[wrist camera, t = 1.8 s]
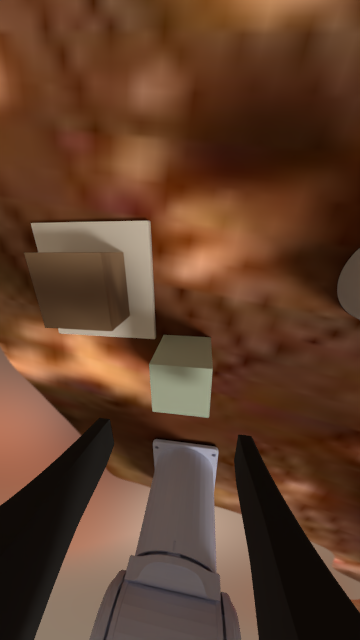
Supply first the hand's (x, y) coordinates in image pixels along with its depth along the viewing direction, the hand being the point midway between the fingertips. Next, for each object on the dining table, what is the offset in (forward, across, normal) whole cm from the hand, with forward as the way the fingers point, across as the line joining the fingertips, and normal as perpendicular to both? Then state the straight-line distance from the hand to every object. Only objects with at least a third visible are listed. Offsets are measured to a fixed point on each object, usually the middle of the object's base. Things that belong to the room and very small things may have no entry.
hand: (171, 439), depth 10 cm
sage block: (+9, 0, 0) cm, 9 cm away
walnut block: (+8, +8, -7) cm, 13 cm away
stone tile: (+9, +8, -7) cm, 14 cm away
